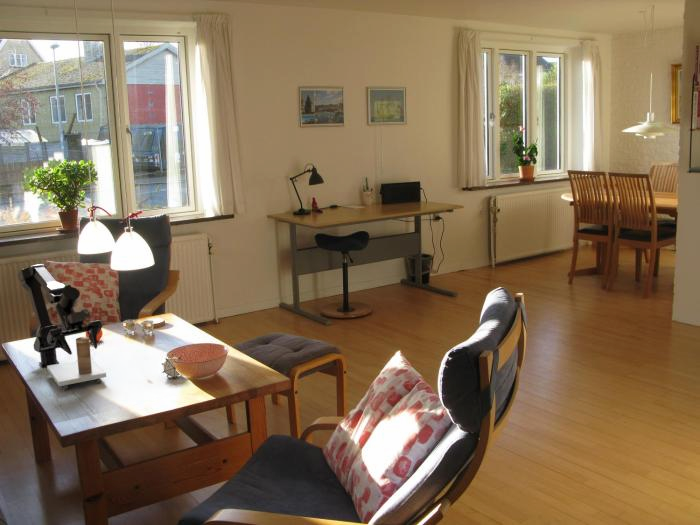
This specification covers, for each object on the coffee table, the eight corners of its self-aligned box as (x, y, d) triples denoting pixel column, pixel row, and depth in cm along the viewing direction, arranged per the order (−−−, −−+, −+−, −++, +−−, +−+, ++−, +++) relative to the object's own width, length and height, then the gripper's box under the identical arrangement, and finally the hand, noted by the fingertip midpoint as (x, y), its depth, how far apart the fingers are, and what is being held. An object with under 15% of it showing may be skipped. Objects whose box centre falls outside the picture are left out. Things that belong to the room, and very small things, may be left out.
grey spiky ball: (172, 388, 257) (155, 372, 251) (170, 374, 264) (154, 357, 258) (193, 376, 257) (177, 359, 251) (191, 361, 264) (175, 344, 258)
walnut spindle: (80, 370, 256) (77, 337, 253) (92, 370, 256) (90, 336, 254) (77, 374, 251) (74, 340, 249) (90, 374, 252) (87, 340, 250)
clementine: (80, 343, 306) (79, 327, 305) (91, 338, 313) (89, 322, 311) (96, 344, 304) (95, 327, 302) (106, 339, 310) (105, 323, 309)
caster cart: (48, 376, 263) (46, 365, 263) (92, 367, 272) (91, 357, 271) (59, 393, 245) (58, 382, 244) (107, 383, 253) (106, 372, 253)
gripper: (46, 307, 246) (62, 344, 240) (98, 298, 259) (114, 332, 253) (40, 325, 253) (55, 362, 247) (90, 315, 266) (106, 349, 260)
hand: (83, 351), depth 252 cm, fingers open, 9 cm apart
